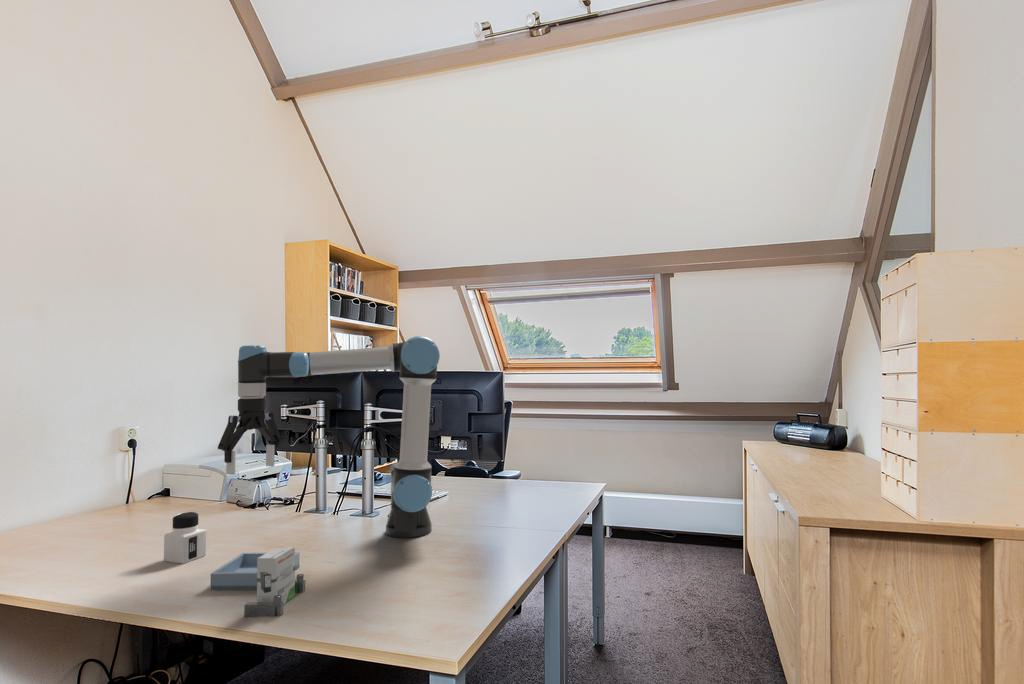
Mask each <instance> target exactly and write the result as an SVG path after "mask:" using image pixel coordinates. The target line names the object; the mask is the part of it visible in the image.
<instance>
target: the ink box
mask: <svg viewBox="0 0 1024 684" xmlns="http://www.w3.org/2000/svg"><path fill="white" fill-rule="evenodd" d="M295 552H296V547H294V546H293V547H292V546H287V547H285V546H277V547H275V548H273V549H271V550H270V551H268V553H266V554H264V555H262V556H261V557H259V558H257V590H256V602H274V596H276V595H281V602H283V606H284V605H285V604H286V603H288V602H289V601H290V600H291V599H292V598H294V597H295V596H296V593H295V580H296V570H295Z"/></svg>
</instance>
